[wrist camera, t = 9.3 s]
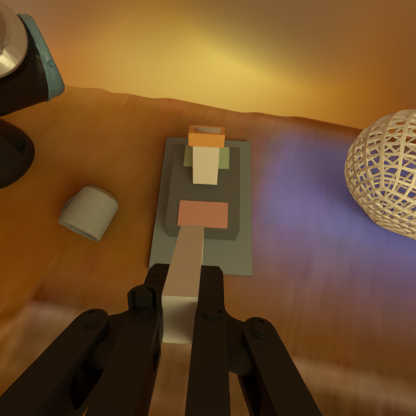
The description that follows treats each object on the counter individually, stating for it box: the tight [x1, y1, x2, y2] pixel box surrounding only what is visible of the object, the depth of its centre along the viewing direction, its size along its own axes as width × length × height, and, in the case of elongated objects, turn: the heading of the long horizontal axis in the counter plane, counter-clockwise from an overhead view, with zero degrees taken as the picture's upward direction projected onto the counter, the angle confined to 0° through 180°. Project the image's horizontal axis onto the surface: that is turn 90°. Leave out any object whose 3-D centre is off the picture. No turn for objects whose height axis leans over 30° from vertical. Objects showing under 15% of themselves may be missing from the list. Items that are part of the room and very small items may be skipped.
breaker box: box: [148, 137, 252, 277], centre depth 47 cm, size 28×18×8 cm, turn 177°
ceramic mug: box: [58, 185, 119, 241], centre depth 46 cm, size 11×8×8 cm
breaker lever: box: [188, 125, 225, 185], centre depth 41 cm, size 3×5×9 cm, turn 87°
